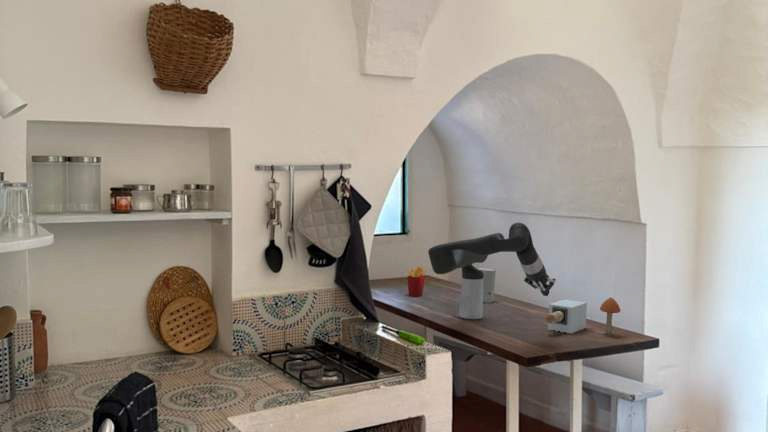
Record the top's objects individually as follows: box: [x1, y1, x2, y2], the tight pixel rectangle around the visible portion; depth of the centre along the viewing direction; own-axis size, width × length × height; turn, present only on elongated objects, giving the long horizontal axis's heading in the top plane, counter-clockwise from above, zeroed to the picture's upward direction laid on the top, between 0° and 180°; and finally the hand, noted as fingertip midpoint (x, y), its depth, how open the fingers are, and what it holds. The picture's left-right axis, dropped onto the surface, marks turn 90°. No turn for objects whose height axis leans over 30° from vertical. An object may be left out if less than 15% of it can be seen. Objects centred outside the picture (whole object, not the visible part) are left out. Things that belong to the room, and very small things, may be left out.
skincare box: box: [477, 267, 496, 304], centre depth 366 cm, size 8×7×16 cm
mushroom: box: [599, 297, 621, 336], centre depth 302 cm, size 8×8×15 cm
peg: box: [545, 310, 565, 325], centre depth 303 cm, size 12×4×4 cm, turn 141°
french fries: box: [406, 265, 427, 298], centre depth 377 cm, size 9×8×15 cm
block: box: [547, 299, 588, 334], centre depth 311 cm, size 15×10×10 cm
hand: (546, 294), depth 294 cm, fingers closed
